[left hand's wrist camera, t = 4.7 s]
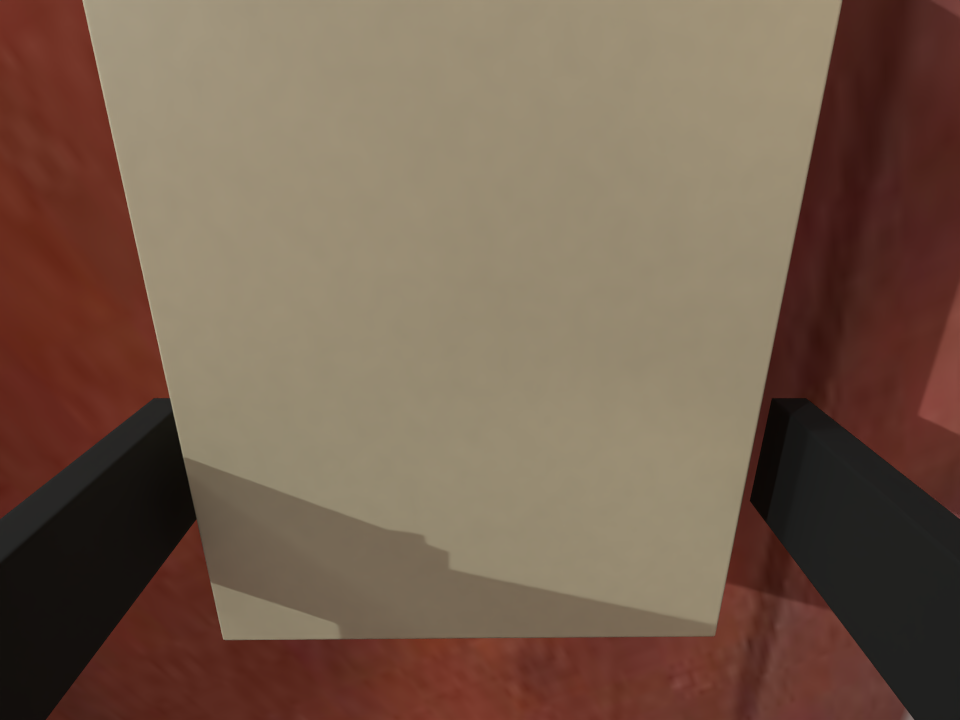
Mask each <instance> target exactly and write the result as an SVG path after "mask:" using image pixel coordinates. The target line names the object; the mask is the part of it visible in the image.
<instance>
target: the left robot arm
mask: <svg viewBox="0 0 960 720" xmlns="http://www.w3.org/2000/svg"><path fill="white" fill-rule="evenodd" d="M750 502H751V503H752V504H753V506H754V507H755V508H756V510H757V511H758V512H759V514H760V515H761V516H762V518H763V519H764V520H765V522H766V523H767V524H768V526H769V527H770V528H771V530H772V531H773V532H774V534H775V535H776V536H777V538H778V539H779V540H780V542H781V543H782V544H783V546H784V547H785V548H786V550H787V551H788V552H789V554H790V555H791V556H792V558H793V559H794V560H795V562H796V563H797V564H798V566H799V567H800V568H801V570H802V571H803V572H804V574H805V575H806V576H807V578H808V579H809V580H810V582H811V583H812V584H813V585H814V587H815V588H816V589H817V591H818V592H819V593H820V595H821V596H822V597H823V599H824V600H825V601H826V603H827V604H828V605H829V607H830V608H831V609H832V611H833V612H834V613H835V615H836V616H837V617H838V619H839V620H840V621H841V623H842V624H843V625H844V627H845V628H846V629H847V631H848V632H849V633H850V635H851V636H852V637H853V639H854V640H855V641H856V643H857V644H858V645H859V647H860V648H861V649H862V651H863V652H864V653H865V655H866V656H867V657H868V659H869V660H870V661H871V663H872V664H873V665H874V667H875V668H876V669H877V671H878V672H879V673H880V675H881V676H882V677H883V679H884V680H885V681H886V683H887V684H888V685H889V687H890V688H891V689H892V691H893V692H894V693H895V695H896V696H897V697H898V699H899V700H900V701H901V703H902V704H903V705H904V707H905V708H906V709H907V711H908V712H909V713H910V715H911V716H912V717H913V718H914V720H960V519H959V518H958V517H956V516H955V515H954V514H952V513H951V512H950V511H949V510H947V509H946V508H945V507H944V506H942V505H941V504H940V503H938V502H937V501H936V500H935V499H933V498H932V497H931V496H930V495H928V494H927V493H926V492H924V491H923V490H922V489H921V488H919V487H918V486H917V485H916V484H914V483H913V482H912V481H910V480H909V479H908V478H907V477H905V476H904V475H903V474H902V473H900V472H899V471H898V470H896V469H895V468H894V467H893V466H891V465H890V464H889V463H888V462H886V461H885V460H884V459H883V458H881V457H880V456H879V455H877V454H876V453H875V452H874V451H872V450H871V449H870V448H869V447H867V446H866V445H865V444H863V443H862V442H861V441H860V440H858V439H857V438H856V437H855V436H853V435H852V434H851V433H849V432H848V431H847V430H846V429H844V428H843V427H842V426H841V425H839V424H838V423H837V422H835V421H834V420H833V419H832V418H830V417H829V416H828V415H827V414H825V413H824V412H823V411H821V410H820V409H819V408H818V407H816V406H815V405H814V404H813V403H811V402H810V401H809V400H807V399H806V398H772V401H771V405H770V410H769V415H768V419H767V424H766V429H765V433H764V438H763V442H762V447H761V452H760V456H759V461H758V466H757V470H756V475H755V480H754V484H753V489H752V494H751V498H750ZM196 519H197V518H196V513H195V509H194V504H193V500H192V495H191V490H190V486H189V481H188V477H187V472H186V468H185V463H184V459H183V454H182V450H181V445H180V441H179V436H178V431H177V427H176V422H175V418H174V413H173V409H172V404H171V400H170V398H154V399H153V400H151V401H150V402H149V403H147V404H146V405H145V406H144V407H142V408H141V409H140V410H139V411H137V412H136V413H135V414H133V415H132V416H131V417H130V418H128V419H127V420H126V421H125V422H123V423H122V424H121V425H119V426H118V427H117V428H116V429H114V430H113V431H112V432H111V433H109V434H108V435H107V436H105V437H104V438H103V439H102V440H100V441H99V442H98V443H97V444H95V445H94V446H93V447H91V448H90V449H89V450H88V451H86V452H85V453H84V454H83V455H81V456H80V457H79V458H77V459H76V460H75V461H74V462H72V463H71V464H70V465H69V466H67V467H66V468H65V469H64V470H62V471H61V472H60V473H58V474H57V475H56V476H55V477H53V478H52V479H51V480H50V481H48V482H47V483H46V484H44V485H43V486H42V487H41V488H39V489H38V490H37V491H36V492H34V493H33V494H32V495H30V496H29V497H28V498H27V499H25V500H24V501H23V502H22V503H20V504H19V505H18V506H16V507H15V508H14V509H13V510H11V511H10V512H9V513H8V514H6V515H5V516H4V517H2V518H1V519H0V720H46V719H47V717H48V716H49V715H50V713H51V712H52V711H53V709H54V708H55V707H56V705H57V704H58V703H59V701H60V700H61V699H62V697H63V696H64V695H65V693H66V692H67V691H68V689H69V688H70V687H71V685H72V684H73V683H74V681H75V680H76V679H77V677H78V676H79V675H80V673H81V672H82V671H83V669H84V668H85V667H86V665H87V664H88V663H89V661H90V660H91V659H92V657H93V656H94V655H95V653H96V652H97V651H98V649H99V648H100V647H101V645H102V644H103V643H104V641H105V640H106V639H107V637H108V636H109V635H110V633H111V632H112V631H113V629H114V628H115V627H116V625H117V624H118V623H119V621H120V620H121V619H122V617H123V616H124V615H125V613H126V612H127V611H128V609H129V608H130V607H131V605H132V604H133V603H134V601H135V600H136V599H137V597H138V596H139V595H140V593H141V592H142V591H143V589H144V588H145V587H146V585H147V584H148V583H149V582H150V580H151V579H152V578H153V576H154V575H155V574H156V572H157V571H158V570H159V568H160V567H161V566H162V564H163V563H164V562H165V560H166V559H167V558H168V556H169V555H170V554H171V552H172V551H173V550H174V548H175V547H176V546H177V544H178V543H179V542H180V540H181V539H182V538H183V536H184V535H185V534H186V532H187V531H188V530H189V528H190V527H191V526H192V524H193V523H194V522H195V520H196Z"/></svg>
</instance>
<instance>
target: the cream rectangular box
mask: <svg viewBox="0 0 960 720" xmlns="http://www.w3.org/2000/svg"><path fill="white" fill-rule="evenodd" d="M83 4H84V9H85V14H86V18H87V23H88V27H89V32H90V36H91V41H92V45H93V50H94V54H95V59H96V63H97V68H98V73H99V77H100V82H101V86H102V91H103V95H104V100H105V104H106V109H107V113H108V118H109V123H110V127H111V132H112V136H113V141H114V145H115V150H116V154H117V159H118V163H119V168H120V173H121V177H122V182H123V186H124V191H125V195H126V200H127V204H128V209H129V213H130V218H131V222H132V227H133V232H134V236H135V241H136V245H137V250H138V254H139V259H140V263H141V268H142V272H143V277H144V282H145V286H146V291H147V295H148V300H149V304H150V309H151V313H152V318H153V322H154V327H155V331H156V336H157V341H158V345H159V350H160V354H161V359H162V363H163V368H164V372H165V377H166V381H167V386H168V391H169V395H170V400H171V404H172V409H173V413H174V418H175V422H176V427H177V431H178V436H179V441H180V445H181V450H182V454H183V459H184V463H185V468H186V472H187V477H188V481H189V486H190V490H191V495H192V500H193V504H194V509H195V513H196V518H197V522H198V527H199V531H200V536H201V540H202V545H203V550H204V554H205V559H206V563H207V568H208V572H209V577H210V581H211V586H212V590H213V595H214V599H215V604H216V609H217V613H218V618H219V622H220V627H221V631H222V636H223V639H224V640H286V639H418V638H550V637H682V636H715V633H716V628H717V623H718V618H719V613H720V608H721V603H722V598H723V593H724V588H725V583H726V578H727V573H728V568H729V563H730V558H731V553H732V548H733V543H734V538H735V533H736V528H737V523H738V518H739V513H740V508H741V503H742V498H743V493H744V488H745V483H746V478H747V473H748V468H749V463H750V458H751V454H752V449H753V444H754V439H755V434H756V429H757V424H758V419H759V414H760V409H761V404H762V399H763V394H764V389H765V384H766V379H767V374H768V369H769V364H770V359H771V354H772V349H773V344H774V339H775V334H776V329H777V324H778V319H779V314H780V309H781V304H782V299H783V294H784V289H785V284H786V279H787V274H788V269H789V264H790V259H791V254H792V249H793V244H794V239H795V234H796V229H797V224H798V219H799V214H800V209H801V204H802V199H803V194H804V189H805V184H806V179H807V175H808V170H809V165H810V160H811V155H812V150H813V145H814V140H815V135H816V130H817V125H818V120H819V115H820V110H821V105H822V100H823V95H824V90H825V85H826V80H827V75H828V70H829V65H830V60H831V55H832V50H833V45H834V40H835V35H836V30H837V25H838V20H839V15H840V10H841V5H842V0H83Z"/></svg>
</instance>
